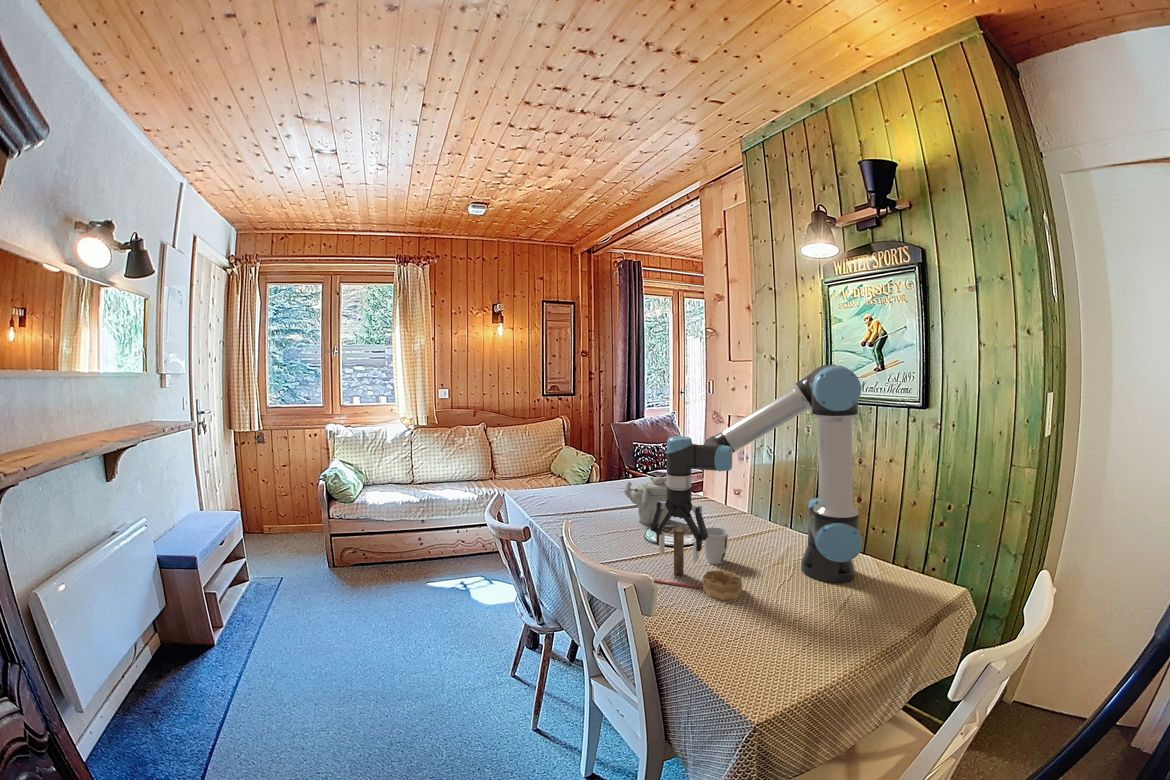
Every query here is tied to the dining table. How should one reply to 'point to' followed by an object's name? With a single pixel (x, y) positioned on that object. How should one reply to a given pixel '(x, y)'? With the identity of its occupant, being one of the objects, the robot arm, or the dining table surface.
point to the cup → (715, 545)
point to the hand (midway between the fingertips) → (678, 557)
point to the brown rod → (678, 551)
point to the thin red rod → (677, 583)
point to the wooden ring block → (722, 585)
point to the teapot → (648, 498)
